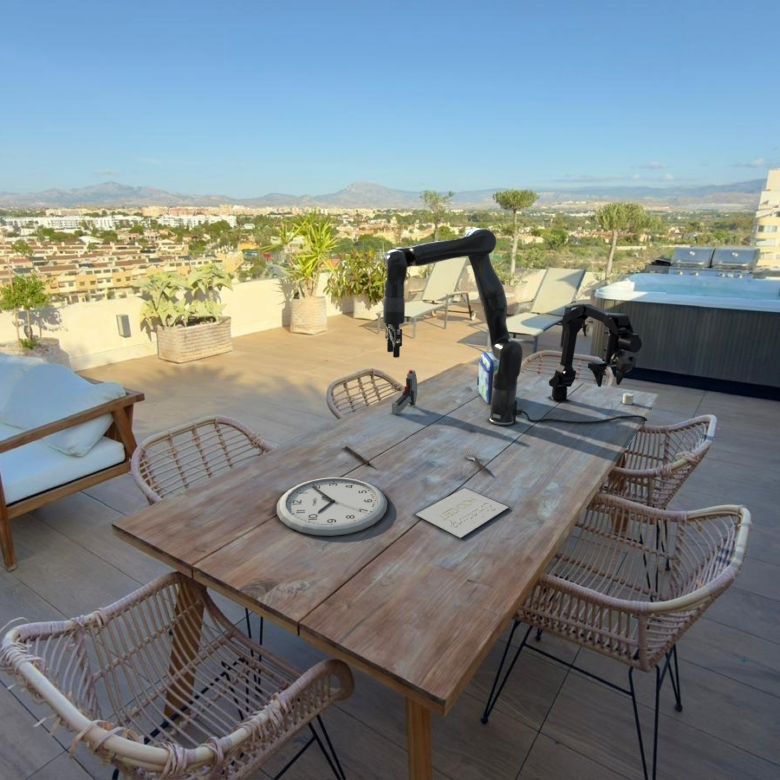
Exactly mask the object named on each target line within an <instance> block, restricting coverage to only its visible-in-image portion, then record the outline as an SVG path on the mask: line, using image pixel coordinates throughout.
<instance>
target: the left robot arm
mask: <svg viewBox="0 0 780 780" xmlns="http://www.w3.org/2000/svg"><path fill="white" fill-rule="evenodd" d="M496 246H497V237H496V235H495V233H494V232H493V231H491V230H489V229H488V228H472V229H470V230H468V231H467V232H466V234H465V235H464V236H463V237H459V238H455V239H448V240H438V241H432V242H426V243H422V244H417V245H413V246H408V247H402V248H394V249H390V250H388V251H387V252H385V254H384V255H383V257H382V264H383V266H384V268H386V270H387V271H386V280H385V282H384V283H383V284H384V286H383V303H382V323H383V324H385V336H384V338H385V340H386V352H387V353H392V357H393V358H395V359H396V358H397V359H399V358H400V354H401V349H400V348H401V347H403V328H400V325H402V324H405V320H406V319H405V318H406V317H405V315H406V313H405V312H406V301H405V282H406V279H407V278H406V277H407V272H408V268H410V267H422V266H423V267H424V266H427V265H428V266H429V265H432V264H436V263H440V262H444V261H448V260H453V259H458V258H463V257H467V258H468V261H469V263H470V266H471V269H472V273H473V276H474V281H475V285H476V289H477V292H478V297H479V301H480V305H481V309H482V311H483V315H484V319H485V322H486V325H487V328H488V333H489V340H490V347H491V348H490V349H491V350H492V353H493V355H494V357H495V358H496V359H498V360H499V367H498V370H497V371H495V372H494V374H493V385H492V398H491V404H490V410H489V411H490V413H489V414H490V415H489V422H490V423H491V424H494V425H497V426H511V425H513V424H516V423H517V416H522V415H525V416H526V419H527V421H529V422H531V423H539V422H540V423H541V422H549V421H550V422H560V423H567V424H599V423H604V422H610V421H615V420H618V419H619V420H620V419H631V418H639V419H642V420H644V421H646V422H648V419H647V418H646V417H645V416H643V415H639V414H632V415H619V416H615V417H611V418H605V419H600V420H589V421H588V420H585V421H584V420H583V421H582V420H581V421H579V420H578V421H577V420H566V419H557V418H542V419H535V420H534V419H531V418H530V416H529V414H528V413H527V412H526V411H524V410H523V409H522V408H521V407H520V406H518V399H517V388H518V378H519V376H520V374H521V369H522V362H523V352H524V351H523V347H522V345H521V344H520V342H519V341H517V340H514V339H513V338H511V336H510V333H509V329H508V326H507V314H508V300H507V297H506V292H505V288H504V285H503V283H502V281H501V279H500V277H499V276H498V274H497V272H496V270H495V269H494V267H493V264H492V261H491V257H490V254H491V253H492V252H493V251H494V250H495V249H496Z"/></svg>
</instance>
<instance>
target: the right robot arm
mask: <svg viewBox="0 0 780 780" xmlns="http://www.w3.org/2000/svg"><path fill="white" fill-rule="evenodd" d="M589 318H591V319H594V320H596V321H598V322H601V323H602V324H603V325H604V327H605V328H607V329H606V330H604V332H603V333H604V335H605V334H606V335H607V339H606V347H605V348H603V352H605V355H604V358H602V359H601V361H600V360H590V361H589V362H587V369H589V371H591V372H592V374H593V375H594V379H595V382H596V384H597V387H598V388H601V387H602V384H603V379H604V375H605V374H606V373H607V371H606V370H607V368H615V383H616V386H620V385H621V383H622V381H623V379H624V377H625V376H626V374H627V373H628V372H630V371H632V370H633V369H635V368H636V364H637V357H636V356H634V355H631V356H626V353H625V351H627V352H630V353H634V354H636V353H638V352H639V351H640V350H641V349H642V347H643V342H642V341H643V340H642V339H641V337H640V334H639V333H635V331H634V328H633V326H632V324H631V320H630V317H629V316H628V314H626V313H617V312H610V311H608V310H605V309H603V308H599V307H597V306H594V305H593V304H591V303H582V304H580V305H578V306H577V307H575V308H574V309H571V310H569V311H568V312H566V313H564V314H563V316H562V324H561V325H562V329H563V331H564V336H563V343H562V350H561V357H560V364H559V365H558V366H557V367H556V369H555V372H554V375H553V376H552V377H551V378H550V379H549V380H548V385H549V387H551V388H552V389H551V395H550V396H548V399H550V400H552V401H554V402H558V403H560V402H569V400H570V399H569V398H568V388H571V387H572V386H573V383H574V382H575V380H576V375H577V370H575V369H574V367H573V363H574V356H575V350H576V345H577V338H578V334H579V332H580V331H581V330H582V329H583V326H584V322H585V321H587V320H588V319H589Z"/></svg>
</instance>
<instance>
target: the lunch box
mask: <svg viewBox="0 0 780 780" xmlns="http://www.w3.org/2000/svg"><path fill="white" fill-rule="evenodd" d="M498 367H499V360H498V359H496V358H495V357H494V355H493V353H492V349H491V351H482V352H481V354H480V358H479V360H478V377H477V381H476V384H477V385H476V386H478V393H479V395H480V396H481V397H482V399H483V400H484V402H485V404H487V405H488V406H489V405H490V406H491V398H492V385H493V374H494V372H495V371H497V370H498Z"/></svg>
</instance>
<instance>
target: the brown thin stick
mask: <svg viewBox="0 0 780 780" xmlns="http://www.w3.org/2000/svg"><path fill="white" fill-rule="evenodd" d="M344 449H345V450H346V451H348V452H349V453H350V454H352V455H353V456H355V457H356V458H358V459H359V460H361V461H362V462H363V463H364V464H366V465H370V461H368V460H367V459H366V458H364V457H363V456H361V455H360V454H358V453H357V452H356V451H354V450H353V449H352V448H350V447H348V446H347V445H345V446H344Z"/></svg>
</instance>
